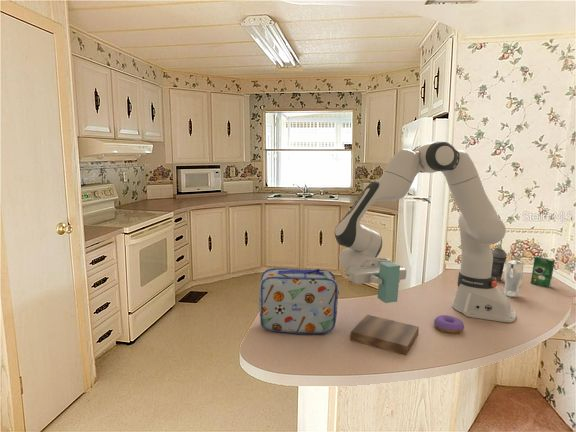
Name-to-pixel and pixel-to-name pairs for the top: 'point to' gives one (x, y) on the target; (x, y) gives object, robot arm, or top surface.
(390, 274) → the teal block
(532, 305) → the top surface
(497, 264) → the beverage cup
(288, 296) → the lunch box
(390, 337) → the walnut riser
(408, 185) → the robot arm
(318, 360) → the top surface
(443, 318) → the donut
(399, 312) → the top surface
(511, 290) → the beer glass
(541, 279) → the coffee box
